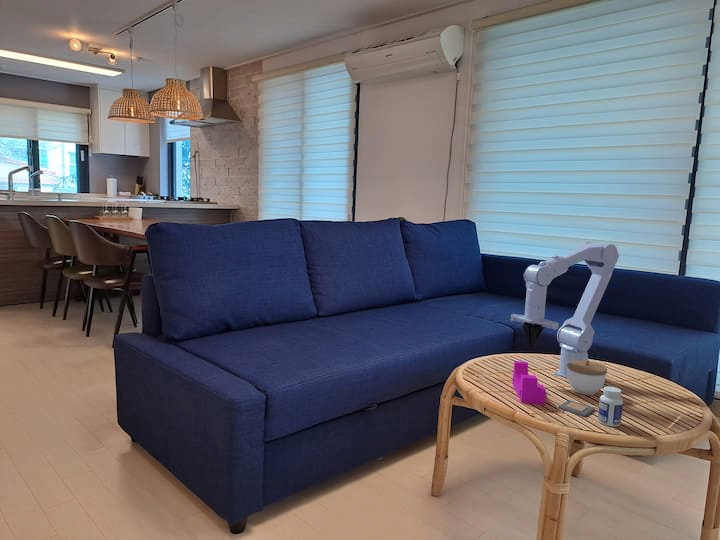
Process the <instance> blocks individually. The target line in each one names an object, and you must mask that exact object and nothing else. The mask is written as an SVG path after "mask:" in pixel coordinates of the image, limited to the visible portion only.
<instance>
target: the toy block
mask: <svg viewBox="0 0 720 540" xmlns="http://www.w3.org/2000/svg"><path fill="white" fill-rule="evenodd" d="M512 371H513V373H512V380H511V381H512V382H511V385H512V386H513V389H514V390H515V393H516V395H517V397H518V399H519V401H520V403H522V402H523V404H533V405H542V406H544V405H545V402H546V394H547V393H546V392H547V390H546V387H544V384H539V381H538V378H537V376H536V375H534V374H529V363H528V362H527V361H521V360H519V361H518V360H514V361H513V370H512ZM545 406H546V405H545Z"/></svg>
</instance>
